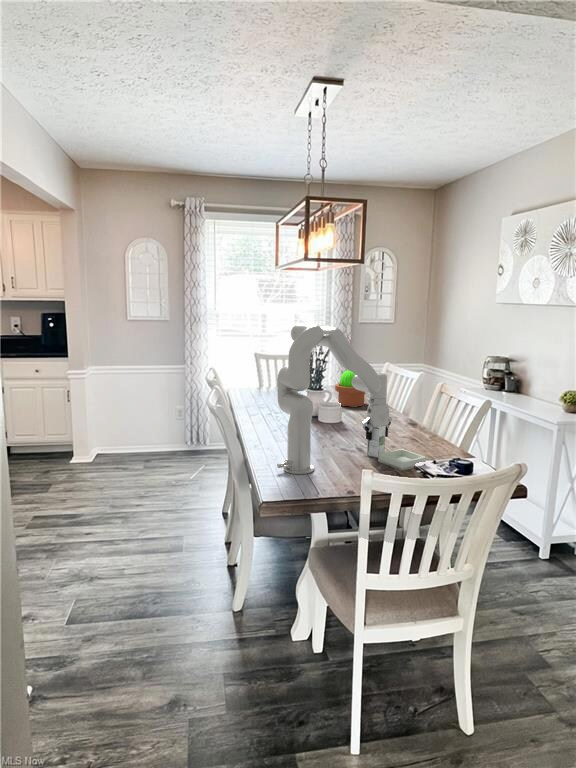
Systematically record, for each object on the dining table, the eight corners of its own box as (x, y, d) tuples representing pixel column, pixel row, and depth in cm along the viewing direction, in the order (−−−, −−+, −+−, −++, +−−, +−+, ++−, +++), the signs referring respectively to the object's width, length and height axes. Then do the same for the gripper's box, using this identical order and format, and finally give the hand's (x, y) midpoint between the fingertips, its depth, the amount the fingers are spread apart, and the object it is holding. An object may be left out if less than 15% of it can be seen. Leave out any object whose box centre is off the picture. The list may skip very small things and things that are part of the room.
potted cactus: (363, 409, 309) (365, 371, 305) (331, 406, 317) (331, 369, 312) (370, 402, 329) (371, 367, 325) (339, 400, 337) (340, 365, 333)
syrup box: (373, 452, 220) (374, 421, 217) (384, 455, 216) (385, 424, 214) (366, 455, 215) (367, 424, 213) (378, 458, 212) (379, 426, 209)
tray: (402, 470, 196) (402, 462, 195) (378, 461, 207) (378, 453, 207) (425, 464, 203) (426, 457, 202) (401, 456, 215) (401, 448, 214)
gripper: (368, 404, 204) (368, 443, 207) (398, 400, 213) (396, 437, 216) (357, 401, 210) (356, 439, 213) (386, 397, 219) (385, 433, 222)
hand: (376, 438), depth 215 cm, fingers open, 9 cm apart
